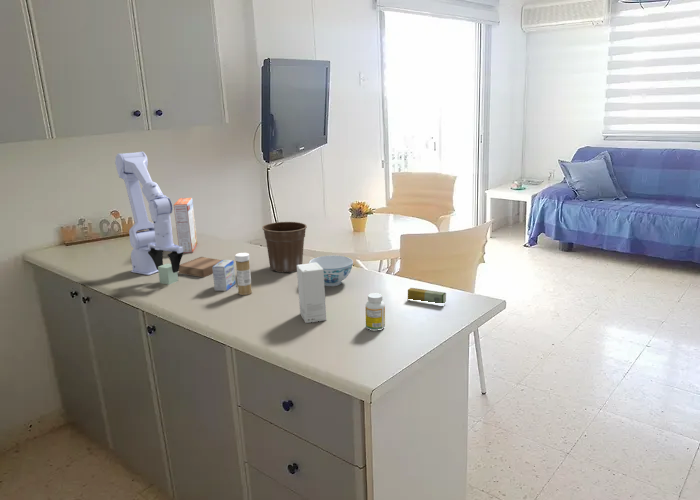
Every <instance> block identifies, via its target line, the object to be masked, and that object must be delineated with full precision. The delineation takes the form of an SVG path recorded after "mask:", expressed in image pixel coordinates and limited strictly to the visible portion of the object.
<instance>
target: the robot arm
mask: <svg viewBox="0 0 700 500" xmlns="http://www.w3.org/2000/svg"><path fill="white" fill-rule="evenodd" d="M114 161H115V162H114V163H115V167H116V171H117V175H118V177H119V178H121V179H122V180H123V181H124V184H125V188H126V192H127V197H128V199H129V200H128V201H129V205H130V208H131V212H132V217H133V221H134V224H132V226H131V227H130V228H129V230H128V234H129V242H130V246H131V247H132V248H133V249H132V250H131V253H130V258H131V259H130V260H131V268H132V270H131V271H130V272H131V273H135V274H140V275H145V276H150V275H153V274H155V273H159V271H158V267H159V266H161V265H164V261H163V258H164V257H163V256H164V251H166V252H169V253H167V257H168V259H169V261H170V264H171V265H172V271H173V273H175V272H177V273H179V265H180V264H181V260H182V257H183V256H184V254H185V253H184V252H183V247H181V246H179V245H178V244H175V243H174V237H173V229H172V219H171V214H172V213H173V211H174V206H173V202H172V200H171V198H170V197H168V196H167V195H166V194H165V195H164V193H163V192H162V190H161V187H160V186H159V184H158V183H157V182H156V181H153V179H152V177H151V174H150V172H149V171H148V166H149V165H148V164H149V162H148V161H149V160H148V156H147V154H146V153H145V152H144V151H137V152H127V153H119V152H118V153H116V155H115V160H114ZM141 185H142V188H141ZM144 197H145V200H146V201H147V203H148V211H149V213H150V217H151V221H152V222H151V221H150V220H149V217H148V211H147V208H146V204H145V200H144Z"/></svg>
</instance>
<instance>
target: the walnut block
mask: <svg viewBox="0 0 700 500" xmlns="http://www.w3.org/2000/svg"><path fill="white" fill-rule="evenodd" d="M222 260H223V259H217V258H212V257H203V256H199V257H196V258H193V259H191V260H188V261H186V262H183V263H180V265H179V271H178V273H179V274H182V275H183V274H184V275H188V276H193V277H200V278H206V277H208V276H211V275H213V268H212V267H213V266H215V265H216V264H217V263H219V262H220V261H222Z"/></svg>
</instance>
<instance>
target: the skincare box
mask: <svg viewBox="0 0 700 500" xmlns="http://www.w3.org/2000/svg"><path fill="white" fill-rule="evenodd" d="M296 276H297V289H298V300H299V313H300V316H301V318H302V319H303V321H304V322H305V324H311V322H312V323H317V322H318V321H319V322H323V321H327V307H326V306H327V305H326V291H325V289H326V288H325V285H324V270H323V268H322V267H321V266H320V265H319V264H318V263H317V262H316V263H309V262H308V263H302V264H300V265H297V270H296Z"/></svg>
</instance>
